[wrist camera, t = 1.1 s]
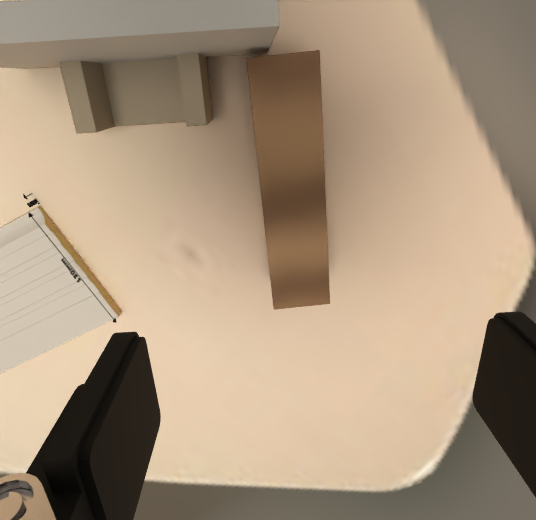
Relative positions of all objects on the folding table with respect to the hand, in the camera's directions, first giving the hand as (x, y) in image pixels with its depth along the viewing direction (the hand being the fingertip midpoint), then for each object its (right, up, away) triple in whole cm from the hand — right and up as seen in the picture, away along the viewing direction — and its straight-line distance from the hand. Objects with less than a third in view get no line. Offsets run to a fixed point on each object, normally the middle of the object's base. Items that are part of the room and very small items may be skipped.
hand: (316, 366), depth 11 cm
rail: (0, +9, +19) cm, 21 cm away
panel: (-9, +14, +16) cm, 23 cm away
